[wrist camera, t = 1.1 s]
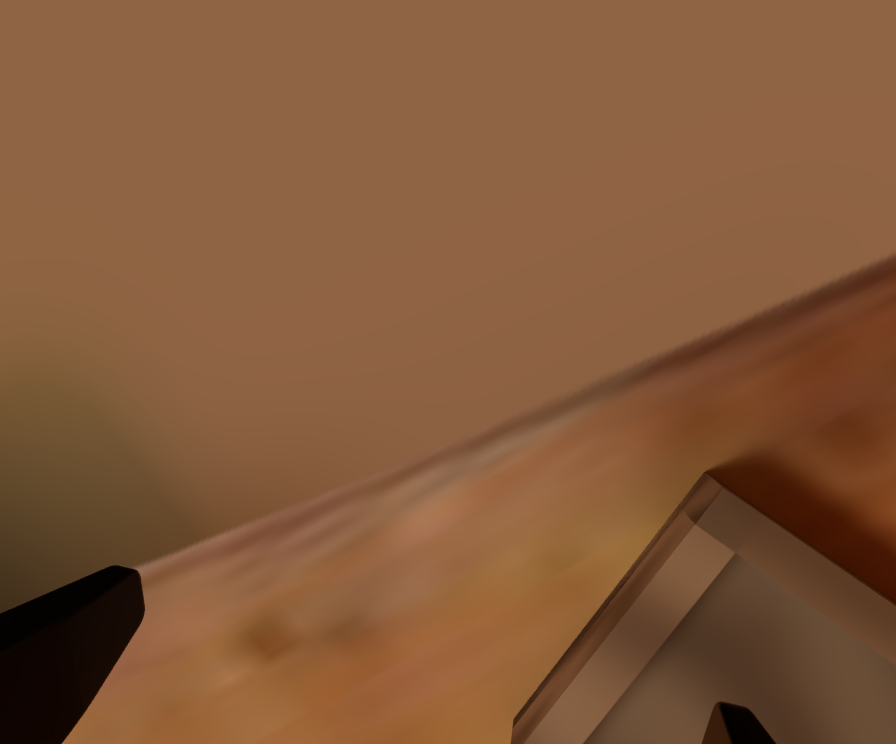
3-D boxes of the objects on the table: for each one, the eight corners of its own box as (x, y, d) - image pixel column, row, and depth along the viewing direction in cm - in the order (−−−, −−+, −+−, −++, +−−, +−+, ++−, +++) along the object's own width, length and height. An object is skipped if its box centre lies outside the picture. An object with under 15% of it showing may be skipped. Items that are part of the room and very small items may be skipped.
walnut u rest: (786, 931, 22) (815, 1005, 20) (513, 719, 23) (508, 762, 21) (1012, 683, 20) (1075, 730, 18) (704, 471, 22) (723, 487, 19)
